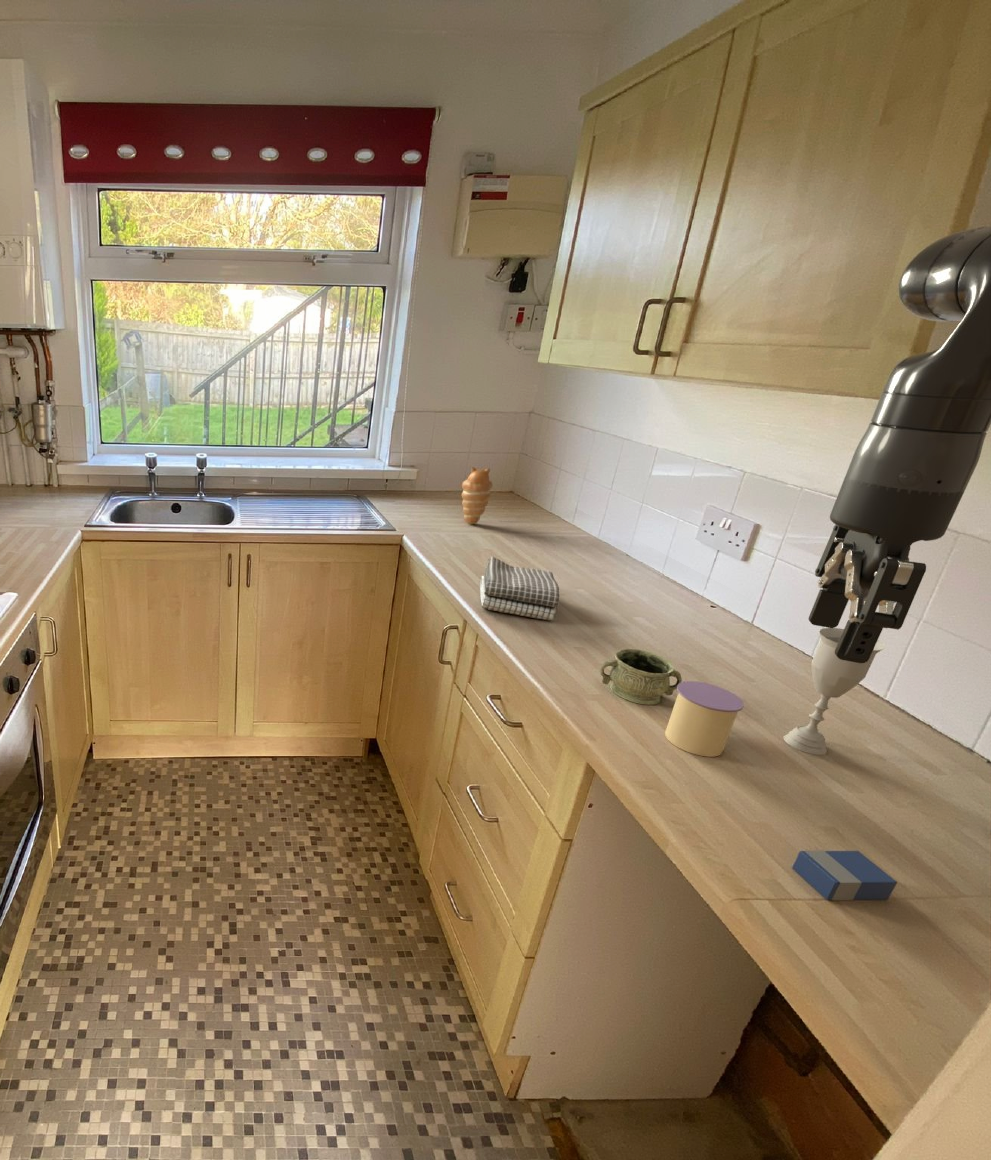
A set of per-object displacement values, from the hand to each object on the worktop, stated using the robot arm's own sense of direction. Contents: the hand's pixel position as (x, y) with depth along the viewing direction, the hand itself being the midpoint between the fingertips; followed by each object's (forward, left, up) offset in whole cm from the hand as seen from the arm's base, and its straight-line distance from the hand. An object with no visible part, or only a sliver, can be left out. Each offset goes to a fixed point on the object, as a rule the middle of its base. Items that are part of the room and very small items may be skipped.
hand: (834, 641), depth 62 cm
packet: (-10, -4, -30) cm, 32 cm away
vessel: (+8, -40, -30) cm, 50 cm away
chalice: (-14, -36, -30) cm, 49 cm away
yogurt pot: (+1, -28, -30) cm, 41 cm away
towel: (+30, -71, -30) cm, 82 cm away
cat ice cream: (+48, -132, -30) cm, 143 cm away
